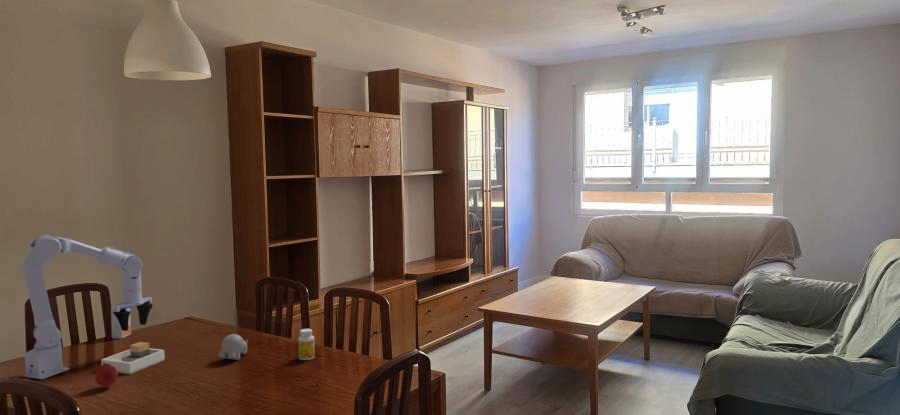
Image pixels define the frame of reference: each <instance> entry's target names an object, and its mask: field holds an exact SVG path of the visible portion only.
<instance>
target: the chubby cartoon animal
mask: <svg viewBox="0 0 900 415" xmlns="http://www.w3.org/2000/svg"><path fill="white" fill-rule="evenodd" d="M248 341H249V339H246V340H244V338H243V337H242V336H241V335H239V334H237V333H231V334H228V335H227V336H225V337H224V338H223V340H222V342H221V350H220V351H219V352H218V357H219V358H220V359H226V360H233V361H239V360H240V359H241V355H246V353H247V352H248V343H249V342H248Z"/></svg>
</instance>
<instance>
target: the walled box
mask: <svg viewBox="0 0 900 415" xmlns="http://www.w3.org/2000/svg"><path fill="white" fill-rule="evenodd" d="M149 349H150V355H148V356H145V357H143V358H140V359H139V358H132V357H131V353H130V348H129V349H127V350H123V351H121V352H118V353H116V354H112V355H111V356H110V355H109V356H108V357H105V358H102V359H100V362H101V363H100V364H101V366H102V365H103V362H107V363H108V364H110V365H112V366H114V367H115V368H116V370H117V372H118V374H119V373H121V374H125V375H131V374H134V373H137V372H139V371H142V370H143V369H147V368H149V367H151V366H154V365H157V364H159V363H161V362H163V361H165V360H166V359H165V358H166V356H165V350H164V349H160V348H150V347H149Z"/></svg>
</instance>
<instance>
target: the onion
mask: <svg viewBox="0 0 900 415" xmlns="http://www.w3.org/2000/svg"><path fill="white" fill-rule="evenodd" d="M118 376H119V372H117V370H116V368H115V367H114V366H112V365H110V364H108V363H107V362H103V365H102V364H101V366H100V367H99V368H98V369H97V370H96V372H95V376H94V379H95V380H94V381H95V382H96V384H97V385H99V386H100V387H102V388H104V389H108V388H110V387H111V386H112V385H114V383H116V381H117V379H118Z"/></svg>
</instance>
